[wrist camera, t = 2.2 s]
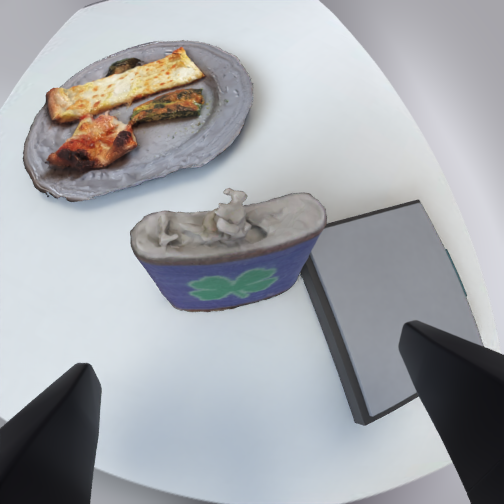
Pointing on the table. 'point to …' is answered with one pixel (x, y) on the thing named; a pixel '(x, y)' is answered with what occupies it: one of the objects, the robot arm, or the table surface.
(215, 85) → the food plate
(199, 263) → the flask
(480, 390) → the robot arm
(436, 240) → the scale
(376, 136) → the table surface
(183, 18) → the table surface
